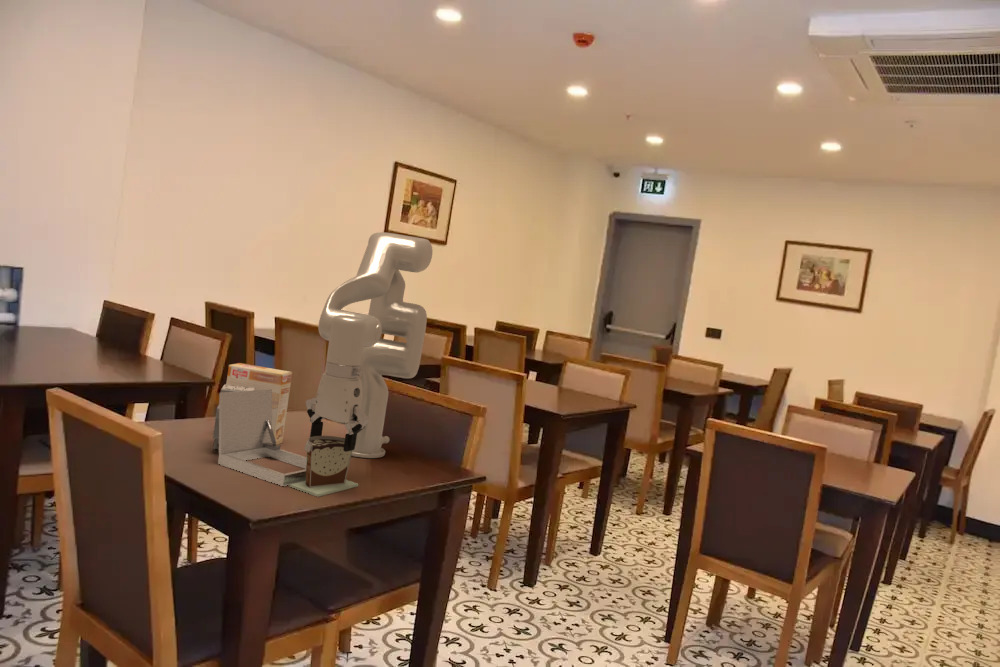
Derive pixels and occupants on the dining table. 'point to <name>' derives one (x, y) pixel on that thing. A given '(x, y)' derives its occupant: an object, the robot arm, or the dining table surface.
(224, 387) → the circuit breaker
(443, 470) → the dining table surface
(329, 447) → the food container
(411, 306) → the robot arm
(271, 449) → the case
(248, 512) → the dining table surface
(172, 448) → the dining table surface
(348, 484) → the mat
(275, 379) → the coffeecake box
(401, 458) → the dining table surface
